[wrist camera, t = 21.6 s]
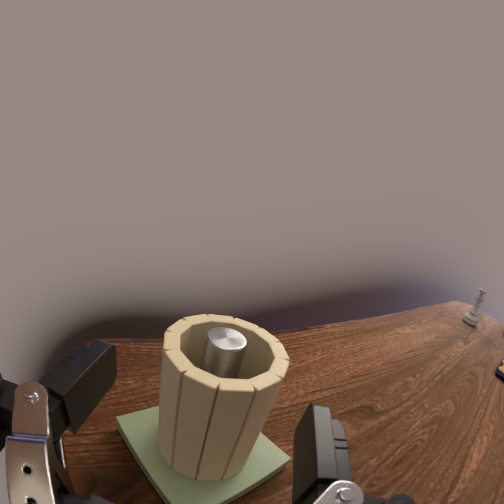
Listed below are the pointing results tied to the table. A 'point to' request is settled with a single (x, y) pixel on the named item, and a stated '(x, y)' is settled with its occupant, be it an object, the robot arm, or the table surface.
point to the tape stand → (193, 491)
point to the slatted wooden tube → (215, 398)
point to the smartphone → (500, 369)
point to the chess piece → (474, 310)
